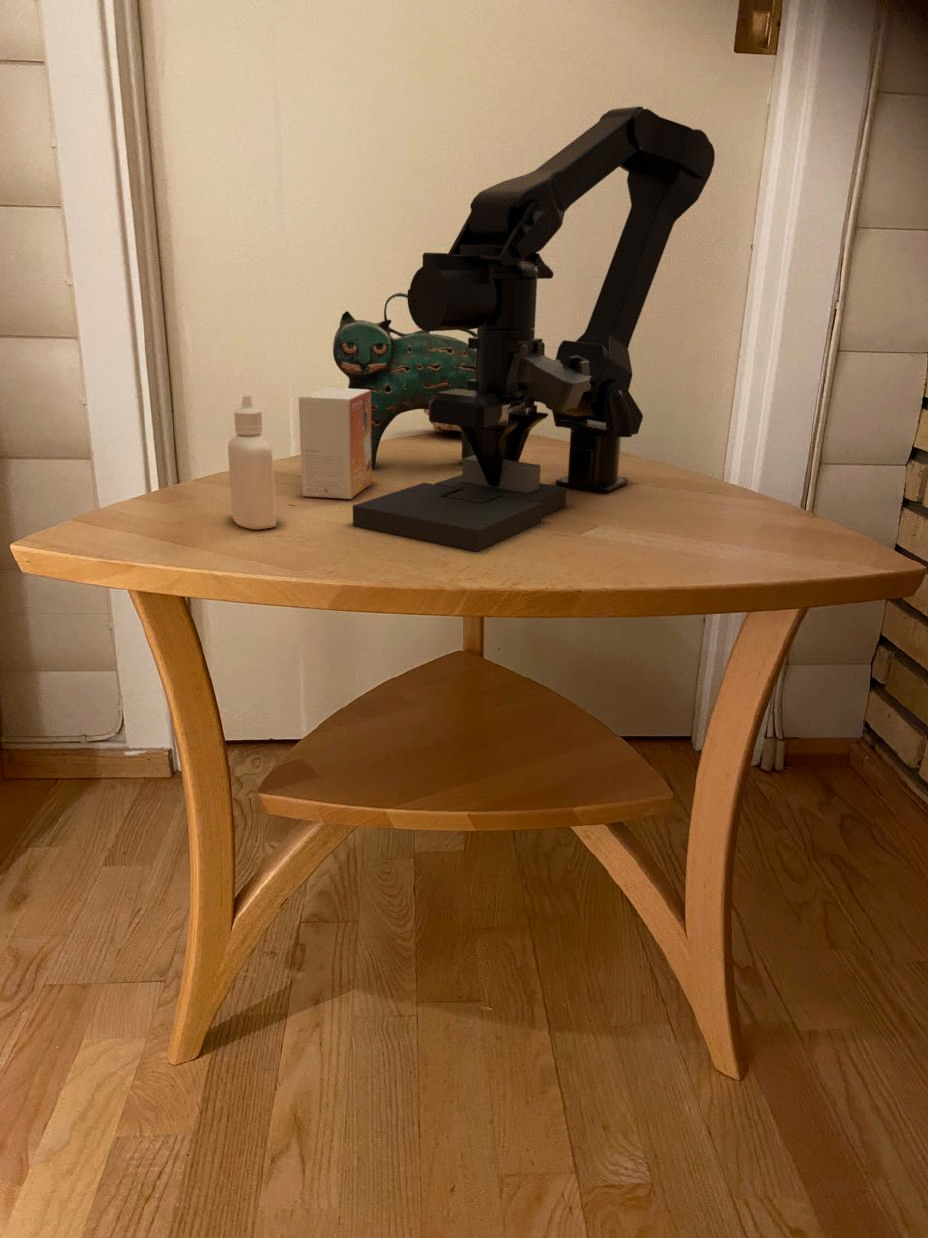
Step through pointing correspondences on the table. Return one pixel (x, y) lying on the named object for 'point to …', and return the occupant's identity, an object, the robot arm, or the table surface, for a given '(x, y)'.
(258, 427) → the eye dropper bottle
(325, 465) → the small box
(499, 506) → the charcoal pad
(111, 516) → the table surface
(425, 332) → the ceramic cat
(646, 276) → the robot arm
